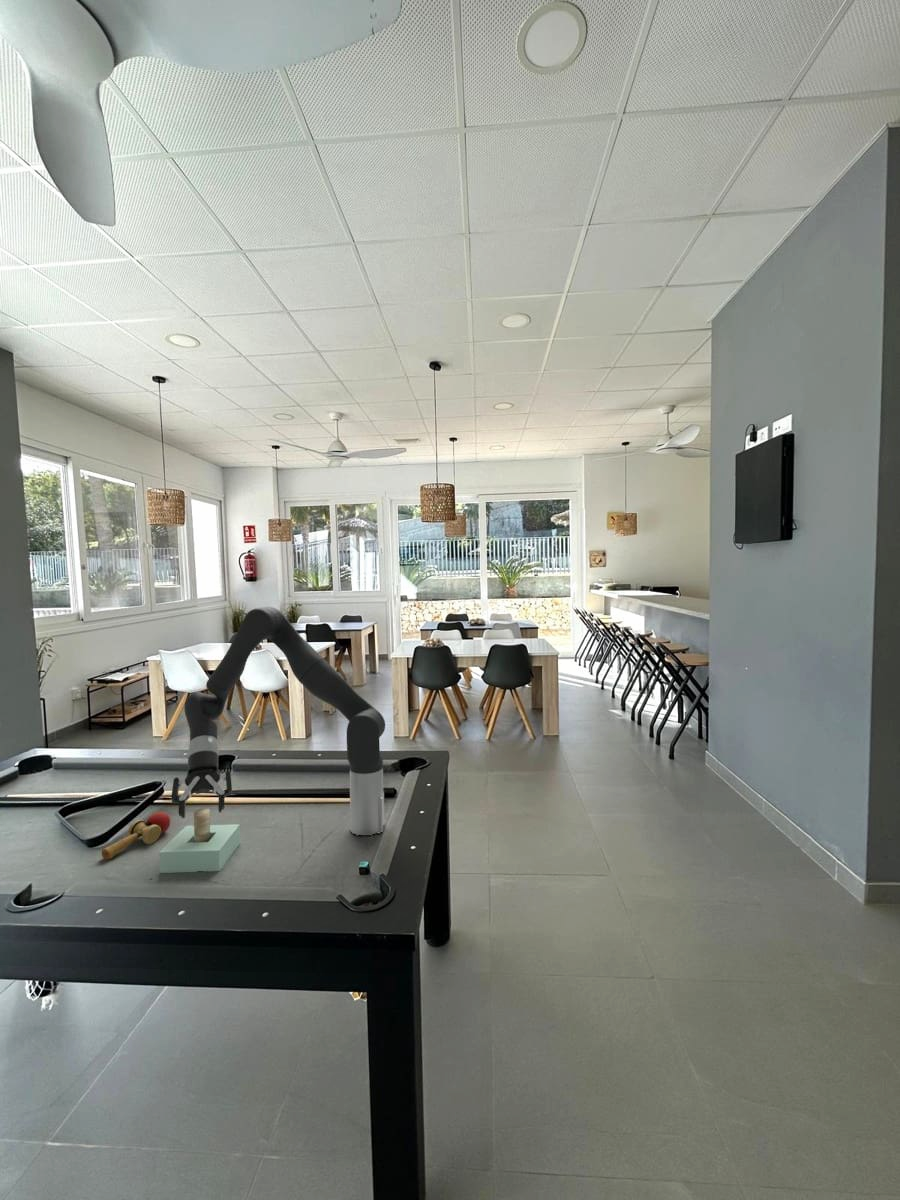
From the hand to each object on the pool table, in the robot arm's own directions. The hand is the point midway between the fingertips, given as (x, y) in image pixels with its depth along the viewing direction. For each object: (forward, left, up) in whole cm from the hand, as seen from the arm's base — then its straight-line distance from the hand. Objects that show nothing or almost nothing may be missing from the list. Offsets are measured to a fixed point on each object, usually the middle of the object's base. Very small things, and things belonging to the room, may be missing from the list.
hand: (201, 814), depth 132 cm
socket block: (-1, +1, -10) cm, 10 cm away
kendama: (+19, -7, -11) cm, 23 cm away
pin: (-1, +1, -9) cm, 9 cm away
